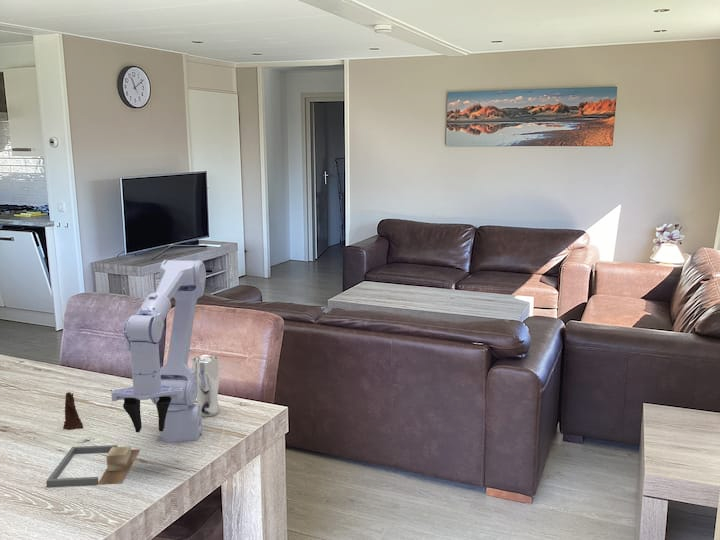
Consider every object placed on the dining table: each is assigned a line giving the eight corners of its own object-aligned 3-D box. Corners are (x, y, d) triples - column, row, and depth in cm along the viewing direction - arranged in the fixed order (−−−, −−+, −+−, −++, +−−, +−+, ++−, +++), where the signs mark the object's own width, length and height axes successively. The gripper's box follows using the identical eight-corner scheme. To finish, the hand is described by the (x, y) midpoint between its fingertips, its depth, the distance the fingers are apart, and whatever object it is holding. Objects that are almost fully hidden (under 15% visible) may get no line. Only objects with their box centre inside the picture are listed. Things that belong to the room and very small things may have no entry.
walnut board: (140, 454, 146) (140, 449, 146) (122, 489, 131) (122, 483, 131) (118, 455, 146) (117, 450, 145) (97, 490, 131) (97, 484, 131)
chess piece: (67, 436, 155) (63, 398, 153) (59, 430, 159) (55, 392, 157) (86, 430, 158) (82, 392, 156) (78, 424, 162) (74, 387, 160)
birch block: (131, 461, 140) (130, 446, 140) (126, 470, 136) (125, 455, 136) (113, 461, 140) (111, 447, 139) (107, 471, 136) (106, 455, 135)
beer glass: (224, 407, 172) (222, 354, 169) (216, 418, 165) (213, 363, 162) (199, 406, 173) (196, 353, 170) (190, 417, 166) (187, 362, 163)
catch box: (118, 455, 146) (117, 444, 145) (97, 490, 131) (96, 478, 130) (73, 457, 145) (72, 446, 144) (47, 492, 130) (46, 481, 130)
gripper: (105, 378, 130) (110, 439, 133) (177, 375, 131) (181, 436, 134) (115, 366, 137) (119, 425, 140) (183, 364, 138) (187, 422, 141)
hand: (150, 429), depth 137 cm, fingers open, 4 cm apart
